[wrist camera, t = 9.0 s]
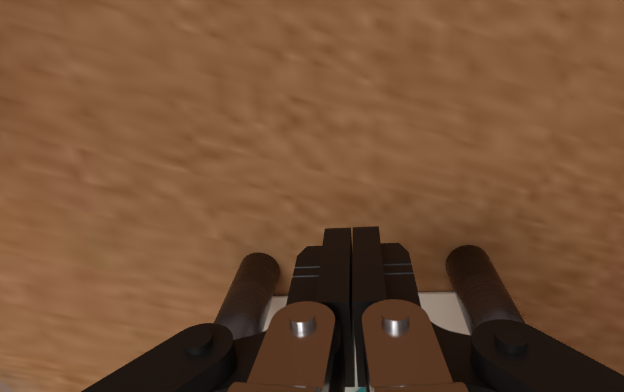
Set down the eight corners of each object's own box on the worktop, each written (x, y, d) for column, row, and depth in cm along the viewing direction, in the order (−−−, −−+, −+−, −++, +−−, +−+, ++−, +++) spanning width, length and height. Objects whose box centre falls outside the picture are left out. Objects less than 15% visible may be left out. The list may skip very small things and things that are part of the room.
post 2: (490, 244, 27) (551, 347, 18) (487, 281, 28) (545, 395, 19) (446, 246, 27) (486, 348, 19) (445, 282, 28) (483, 394, 20)
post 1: (277, 252, 28) (244, 350, 20) (281, 286, 29) (252, 394, 21) (237, 253, 29) (189, 350, 20) (243, 287, 29) (199, 394, 21)
